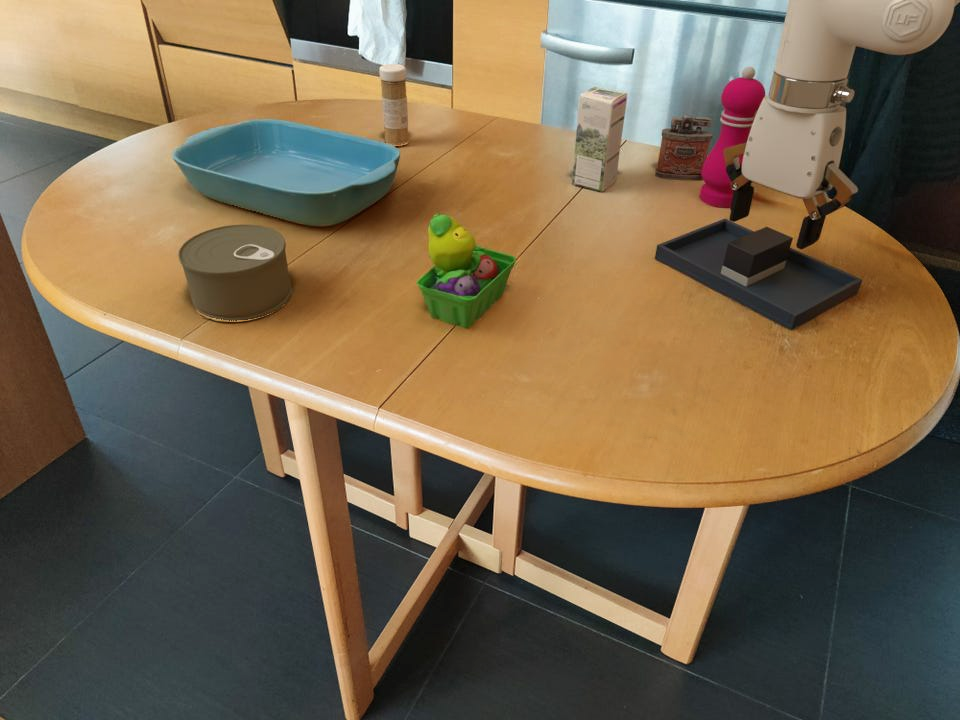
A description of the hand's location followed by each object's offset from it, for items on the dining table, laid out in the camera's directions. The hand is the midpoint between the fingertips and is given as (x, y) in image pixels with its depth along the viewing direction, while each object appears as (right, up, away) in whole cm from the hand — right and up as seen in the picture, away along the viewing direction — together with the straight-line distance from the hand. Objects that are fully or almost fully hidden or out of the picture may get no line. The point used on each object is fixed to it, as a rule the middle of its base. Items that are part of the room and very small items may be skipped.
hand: (770, 231), depth 89 cm
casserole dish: (-66, +10, +23) cm, 70 cm away
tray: (-1, -5, +4) cm, 7 cm away
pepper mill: (+1, +9, +24) cm, 25 cm away
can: (-65, -9, -2) cm, 66 cm away
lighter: (-3, +15, +31) cm, 34 cm away
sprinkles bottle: (-52, +23, +42) cm, 70 cm away
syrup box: (-18, +13, +28) cm, 35 cm away
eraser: (-1, -4, +4) cm, 6 cm away
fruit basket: (-38, -10, -2) cm, 40 cm away
